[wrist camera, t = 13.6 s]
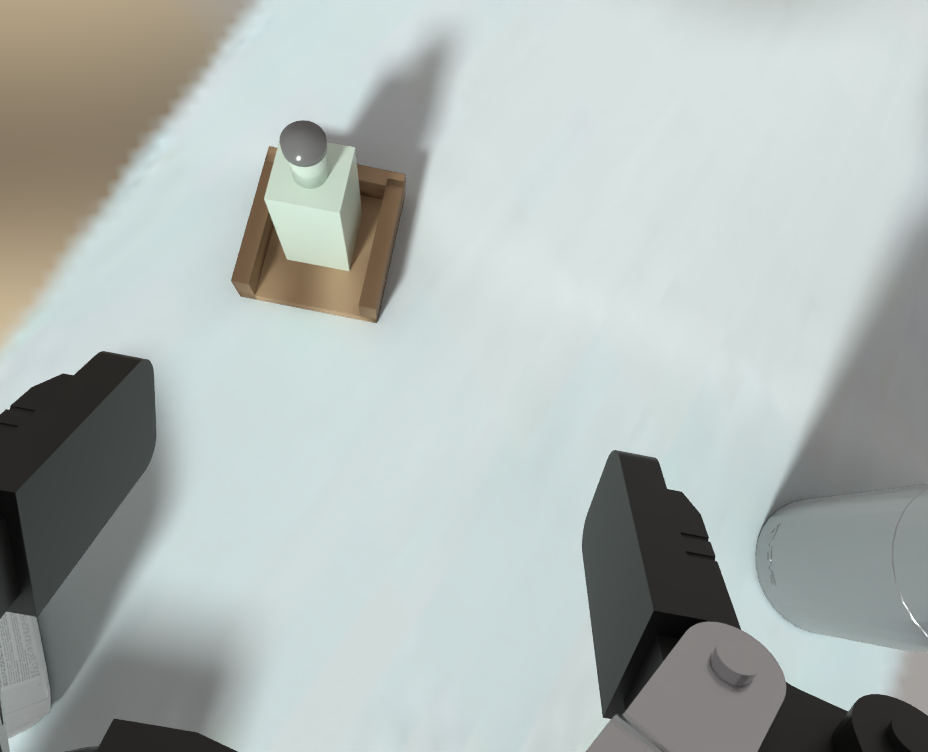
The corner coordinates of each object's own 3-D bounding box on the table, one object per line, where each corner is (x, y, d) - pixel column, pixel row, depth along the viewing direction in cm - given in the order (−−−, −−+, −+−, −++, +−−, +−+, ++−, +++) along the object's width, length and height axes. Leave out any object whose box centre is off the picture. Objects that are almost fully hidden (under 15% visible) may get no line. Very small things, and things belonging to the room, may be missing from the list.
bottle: (362, 215, 52) (351, 114, 40) (349, 271, 51) (334, 184, 39) (301, 203, 52) (272, 98, 40) (286, 259, 51) (252, 168, 39)
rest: (405, 194, 54) (405, 174, 51) (376, 322, 51) (375, 309, 48) (276, 168, 53) (269, 146, 50) (240, 296, 51) (230, 280, 48)
